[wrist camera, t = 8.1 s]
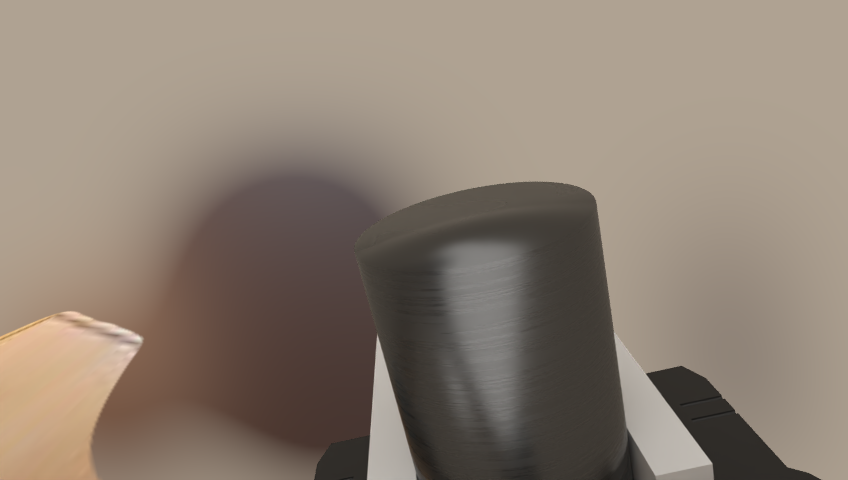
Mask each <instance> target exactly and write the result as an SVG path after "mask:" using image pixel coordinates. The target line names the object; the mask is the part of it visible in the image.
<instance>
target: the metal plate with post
mask: <svg viewBox="0 0 848 480" xmlns="http://www.w3.org/2000/svg"><path fill="white" fill-rule="evenodd" d="M354 251H355V255H356V259H357V262H358V266H359V270H360V273H361V277H362V280H363V284H364V288H365V291H366V294H367V298H368V302H369V306H370V309H371V313H372V316H373V320H374V324H375V327H376V331H377V334H378V338H379V342H380V345H381V349H382V352H383V356H384V360H385V363H386V367H387V370H388V374H389V378H390V381H391V385H392V388H393V392H394V396H395V399H396V403H397V406H398V410H399V414H400V417H401V421H402V424H403V428H404V431H405V435H406V439H407V442H408V446H409V449H410V453H411V457H412V460H413V464H414V467H415V471H416V474H417V478H418V480H634V478H633V471H632V463H631V456H630V448H629V441H628V434H627V426H626V419H625V411H624V404H623V397H622V389H621V382H620V374H619V367H618V360H617V352H616V345H615V337H614V330H613V323H612V315H611V308H610V300H609V293H608V286H607V278H606V271H605V263H604V256H603V249H602V241H601V235H600V227H599V219H598V212H597V204H596V200H595V198H594V196H593V195H592V194H591V193H590V192H588V191H586V190H585V189H582V188H580V187H577V186H573V185H569V184H563V183H554V182H518V183H506V184H497V185H490V186H484V187H478V188H473V189H467V190H463V191H458V192H454V193H450V194H447V195H443V196H439V197H436V198H432V199H429V200H426V201H423V202H420V203H418V204H415V205H412V206H409V207H407V208H405V209H402V210H400V211H397V212H395V213H393V214H391V215H389V216H387V217H386V218H384V219H382V220H380V221H379V222H377V223H375V224H374V225H373V226H371V227H370V228H368V229H367V230H366V231H365V232H364V233H363V234H362V235H361V236H360V237H359V238H358V240H357V241H356V244H355V246H354Z"/></svg>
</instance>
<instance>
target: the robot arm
mask: <svg viewBox="0 0 848 480" xmlns="http://www.w3.org/2000/svg"><path fill="white" fill-rule="evenodd" d="M614 337H615V345H616V352H617V360H618V367H619V374H620V382H621V389H622V397H623V404H624V411H625V419H626V426H627V434H628V441H629V448H630V456H631V463H632V471H633V478H634V480H821V479H819V478H817V477H815V476H813V475H811V474H809V473H806V472H803V471H799V470H795V469H791V468H788V467H786V465H784V463H783V462H782V461H781V460H780V459H779V458H778V457H777V456H776V455H775V453H774V452H773V451H772V450H771V449H770V448H769V447H768V446H767V445H766V444H765V443H764V442H763V440H762V439H761V438H760V437H759V436H758V435H757V434H756V433H755V432H754V431H753V429H752V428H751V427H750V426H749V425H748V424H747V423H746V422H745V421H744V420H743V418H742V417H741V416H740V415H739V414H736V413H735V410H734V409H733V408H732V406H731V405H730V404H729V403H728V402H727V401H726V400H725V399H722V396H721V394H720V393H719V392H718V391H717V390H716V389H715V388H714V387H713V386H712V385H711V384H710V382H709V381H708V380H707V379H706V378H704V377H702V376H700V375H698V374H696V373H694V372H693V371H691V370H689V369H686V368H685V367H683V366H679V367H674V368H670V369H665V370H661V371H656V372H651V373H647V374H645V372H644V371H643V370H642V368H641V367H640V366H639V364H638V363H637V362H636V360H635V359H634V358H633V356H632V355H631V354H630V352H629V351H628V350H627V348H626V347H625V346H624V344H623V343H622V342H621V340H620V339H619V337H618V336H617V335H616V334H615V332H614ZM314 480H418V478H417V474H416V471H415V467H414V464H413V460H412V457H411V453H410V449H409V446H408V442H407V439H406V435H405V431H404V428H403V424H402V421H401V417H400V414H399V410H398V406H397V403H396V399H395V396H394V392H393V388H392V385H391V381H390V378H389V374H388V370H387V367H386V363H385V360H384V356H383V352H382V349H381V345H380V342H379V338H378V334H377V347H376V362H375V375H374V391H373V403H372V418H371V433H370V435H369V436H365V437H360V438H355V439H351V440H346V441H341V442H337V443H332V444H331V445H330V446H329V448H328V449H327V451H326V452H325V454H324V455H323V456H322V458H321V459H320V461H319V462H318V464H317V469H316V474H315V479H314Z"/></svg>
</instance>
